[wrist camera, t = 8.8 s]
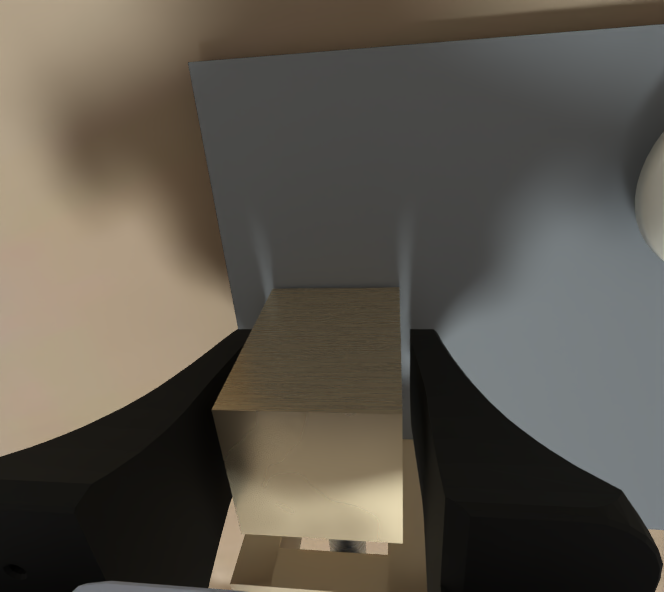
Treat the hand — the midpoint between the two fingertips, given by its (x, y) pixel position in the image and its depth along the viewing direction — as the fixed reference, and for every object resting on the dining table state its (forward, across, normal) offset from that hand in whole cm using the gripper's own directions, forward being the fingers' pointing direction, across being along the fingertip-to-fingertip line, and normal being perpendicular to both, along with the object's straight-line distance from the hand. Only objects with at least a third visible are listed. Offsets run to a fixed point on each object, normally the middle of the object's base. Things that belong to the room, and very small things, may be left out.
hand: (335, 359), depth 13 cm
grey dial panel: (+2, -4, 0) cm, 5 cm away
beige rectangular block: (+1, 0, +3) cm, 3 cm away
